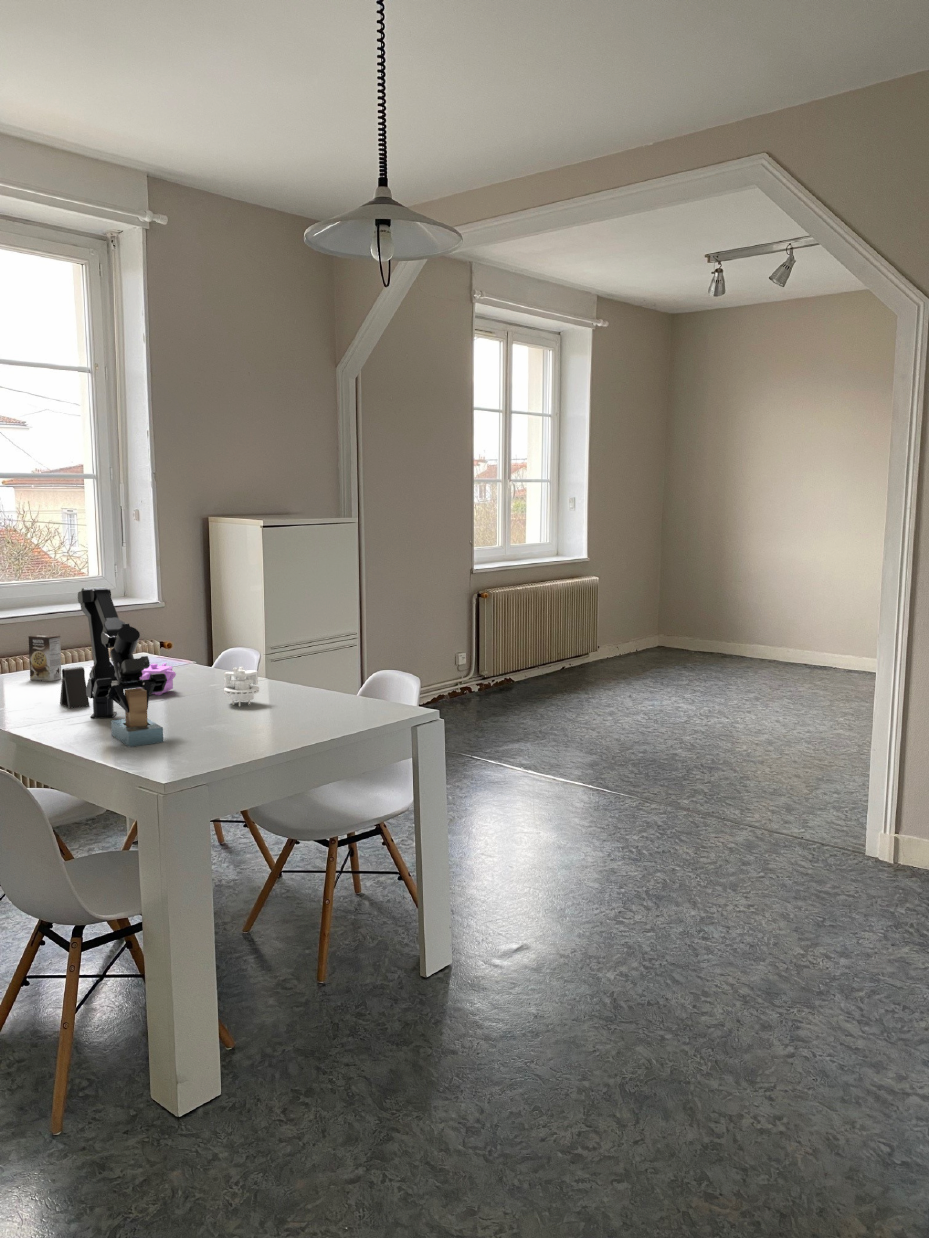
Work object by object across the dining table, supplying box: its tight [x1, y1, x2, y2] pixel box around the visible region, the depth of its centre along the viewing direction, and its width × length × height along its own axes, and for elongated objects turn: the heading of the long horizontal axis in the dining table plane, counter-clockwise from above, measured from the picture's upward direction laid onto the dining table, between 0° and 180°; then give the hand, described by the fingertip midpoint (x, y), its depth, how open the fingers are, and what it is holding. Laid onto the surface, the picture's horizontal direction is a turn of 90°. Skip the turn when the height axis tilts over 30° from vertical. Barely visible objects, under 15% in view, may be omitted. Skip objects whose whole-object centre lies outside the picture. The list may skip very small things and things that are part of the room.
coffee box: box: [28, 633, 62, 682], centre depth 337 cm, size 9×6×16 cm
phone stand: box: [59, 666, 90, 710], centre depth 293 cm, size 9×6×12 cm, turn 42°
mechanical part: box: [223, 666, 260, 707], centre depth 297 cm, size 11×12×12 cm
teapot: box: [140, 662, 177, 696], centre depth 314 cm, size 18×14×10 cm
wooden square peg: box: [124, 688, 148, 727], centre depth 251 cm, size 4×4×12 cm
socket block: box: [110, 717, 164, 748], centre depth 252 cm, size 16×9×4 cm, turn 36°
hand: (137, 710), depth 250 cm, fingers closed on wooden square peg, 4 cm apart
